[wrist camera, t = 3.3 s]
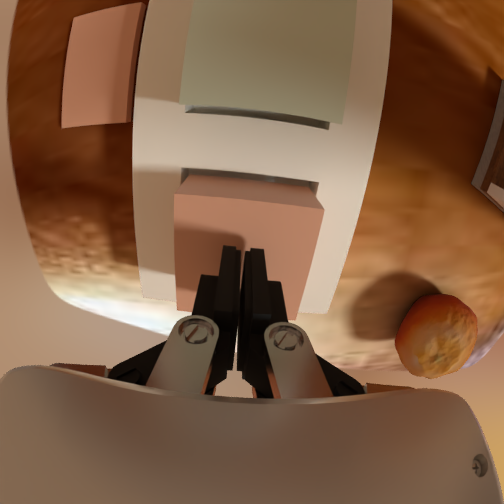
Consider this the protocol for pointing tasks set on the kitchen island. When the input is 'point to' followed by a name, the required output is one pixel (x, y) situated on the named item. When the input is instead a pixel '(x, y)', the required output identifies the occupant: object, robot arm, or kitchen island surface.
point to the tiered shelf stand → (493, 159)
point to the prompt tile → (102, 66)
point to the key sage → (270, 56)
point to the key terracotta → (244, 232)
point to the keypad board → (251, 147)
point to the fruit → (436, 336)
